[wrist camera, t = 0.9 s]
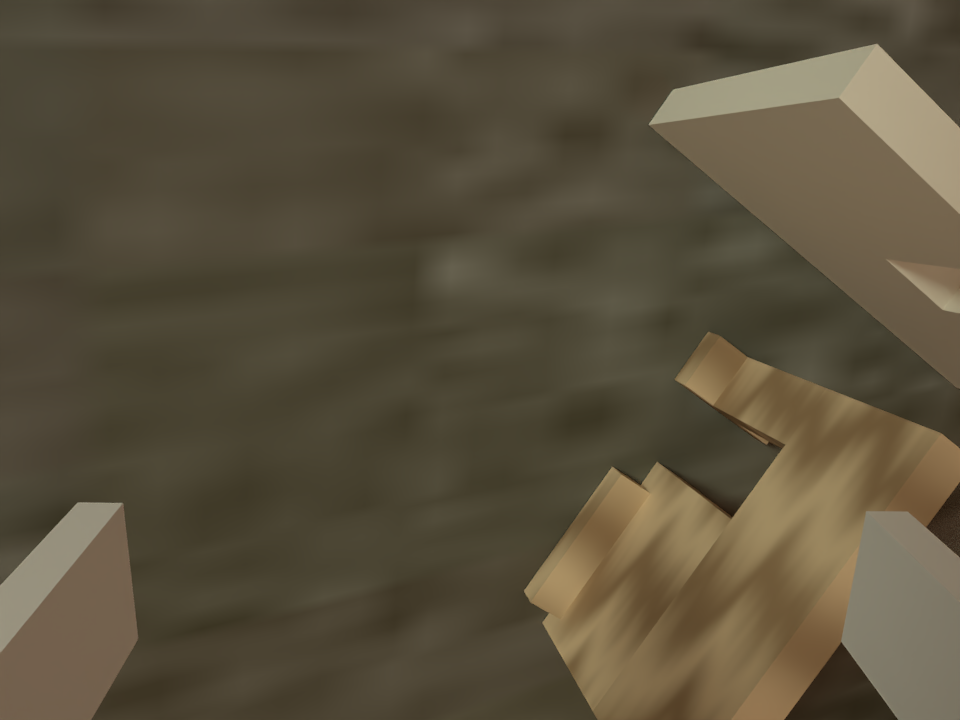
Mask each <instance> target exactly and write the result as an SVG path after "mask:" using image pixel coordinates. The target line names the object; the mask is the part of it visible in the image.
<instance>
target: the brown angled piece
mask: <svg viewBox="0 0 960 720" xmlns="http://www.w3.org/2000/svg"><path fill="white" fill-rule="evenodd" d="M674 380H676V381H677V382H678V383H680V384H681V385H682V386H684V387H685V388H686V389H688V390H689V391H691V392H692V393H693V394H695V395H696V396H697V397H699V398H700V399H702V400H703V401H704V402H706V403H707V404H708V405H710V406H711V407H712V408H714V409H715V410H717V411H718V412H719V413H721V414H722V415H723V416H725V417H726V418H728V419H729V420H730V421H732V422H733V423H734V424H736V425H737V426H739V427H740V428H741V429H743V430H744V431H745V432H747V433H748V434H749V435H751V436H752V437H754V438H755V439H757V440H759V441H761V442H762V443H764V444H766V445H767V444H768V442H771V443H773V444H775V445H776V446H778V447H780V448H782V450H781V451H780V453H779V454H778V456H777V457H776V458H775V460H774V461H773V462H772V464H771V465H770V467H769V468H768V469H767V471H766V472H765V474H764V475H763V476H762V478H761V479H760V480H759V482H758V483H757V485H756V486H755V487H754V489H753V490H752V492H751V493H750V494H749V496H748V497H747V498H746V500H745V501H744V503H743V504H742V505H741V507H740V508H739V510H738V511H737V512H736V514H735V515H734V516H733V517H731V516H730V515H729V514H728V513H726V512H725V511H724V510H722V509H721V508H720V507H718V506H717V505H716V504H715V503H713V502H712V501H711V500H709V499H708V498H707V497H705V496H704V495H703V494H701V493H700V492H699V491H698V490H696V489H695V488H694V487H692V486H691V485H690V484H688V483H687V482H686V481H684V480H683V479H682V478H680V477H679V476H677V475H676V474H674V473H673V472H671V471H670V470H668V469H667V468H665V467H664V466H662V465H661V464H660V463H658V462H657V463H656V464H655V466H654V467H653V468H652V470H651V471H650V473H649V474H648V475H647V477H646V478H645V480H644V481H643V482H642V484H641V485H640V484H638V483H637V482H635V481H634V480H632V479H631V478H629V477H628V476H626V475H625V474H623V473H622V472H620V471H619V470H617V469H616V468H614V467H613V466H612V468H611V469H610V471H609V472H608V473H607V475H606V476H605V478H604V479H603V480H602V482H601V483H600V485H599V486H598V487H597V489H596V490H595V492H594V493H593V494H592V496H591V497H590V499H589V500H588V501H587V503H586V504H585V506H584V507H583V509H582V510H581V511H580V513H579V514H578V516H577V517H576V518H575V520H574V521H573V523H572V524H571V525H570V527H569V528H568V530H567V531H566V532H565V534H564V535H563V537H562V538H561V539H560V541H559V542H558V544H557V545H556V546H555V548H554V549H553V551H552V552H551V554H550V555H549V556H548V558H547V559H546V561H545V562H544V563H543V565H542V566H541V568H540V569H539V570H538V572H537V573H536V575H535V576H534V577H533V579H532V580H531V582H530V583H529V584H528V586H527V587H526V589H525V590H524V592H525V593H526V595H527V597H528V599H529V600H530V602H531V603H533V604H534V605H536V606H538V607H540V608H541V609H543V610H545V611H547V612H549V614H548V615H547V617H546V618H545V620H544V621H543V622H542V623H543V625H544V626H545V628H546V630H547V632H548V634H549V635H550V637H551V639H552V641H553V642H554V644H555V646H556V648H557V649H558V651H559V653H560V655H561V656H562V658H563V660H564V662H565V663H566V665H567V667H568V669H569V670H570V672H571V674H572V676H573V677H574V679H575V681H576V683H577V684H578V686H579V688H580V690H581V691H582V693H583V695H584V697H585V698H586V700H587V702H588V704H589V705H590V707H591V709H592V711H593V712H594V714H595V716H596V718H597V719H598V720H784V719H785V718H786V716H787V715H788V714H789V712H790V711H791V710H792V708H793V707H794V706H795V704H796V703H797V702H798V700H799V699H800V698H801V696H802V695H803V693H804V692H805V691H806V689H807V688H808V687H809V685H810V684H811V683H812V681H813V680H814V679H815V677H816V676H817V675H818V673H819V672H820V670H821V669H822V668H823V666H824V665H825V664H826V662H827V661H828V660H829V658H830V657H831V656H832V654H833V653H834V651H835V650H836V649H837V647H838V646H839V645H840V643H841V639H842V634H843V629H844V624H845V619H846V613H847V608H848V603H849V598H850V593H851V588H852V582H853V577H854V572H855V567H856V562H857V557H858V551H859V546H860V541H861V536H862V531H863V525H864V520H865V515H866V511H902V512H909V513H910V514H911V515H912V516H913V517H915V518H916V519H917V520H918V521H919V522H920V523H921V524H922V525H924V526H925V527H927V526H928V524H929V523H930V521H931V520H932V519H933V517H934V516H935V515H936V513H937V512H938V511H939V509H940V508H941V507H942V505H943V504H944V502H945V501H946V500H947V498H948V497H949V496H950V494H951V493H952V492H953V490H954V489H955V488H956V486H957V485H958V484H959V482H960V448H959V447H957V446H956V445H955V444H954V443H952V442H951V441H950V440H949V439H948V438H946V437H945V436H944V435H943V434H941V433H939V432H936V431H934V430H931V429H929V428H926V427H924V426H921V425H919V424H916V423H913V422H911V421H908V420H906V419H903V418H901V417H898V416H896V415H893V414H891V413H888V412H886V411H883V410H880V409H878V408H875V407H873V406H870V405H868V404H865V403H863V402H860V401H858V400H855V399H852V398H850V397H847V396H845V395H842V394H840V393H837V392H835V391H832V390H830V389H827V388H824V387H822V386H819V385H817V384H814V383H812V382H809V381H807V380H804V379H802V378H799V377H796V376H794V375H791V374H789V373H786V372H784V371H781V370H779V369H776V368H774V367H771V366H768V365H766V364H763V363H761V362H758V361H756V360H753V359H751V358H748V357H747V356H745V355H744V354H743V353H741V352H740V351H739V350H738V349H736V348H735V347H734V346H732V345H731V344H730V343H728V342H727V341H726V340H725V339H723V338H722V337H721V336H719V335H716V334H713V333H711V332H708V333H707V334H706V335H705V337H704V338H703V340H702V341H701V343H700V344H699V345H698V347H697V348H696V350H695V351H694V352H693V354H692V355H691V357H690V358H689V359H688V361H687V362H686V364H685V365H684V366H683V368H682V369H681V371H680V372H679V373H678V375H677V376H676V378H675V379H674Z"/></svg>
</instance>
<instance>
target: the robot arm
mask: <svg viewBox="0 0 960 720" xmlns="http://www.w3.org/2000/svg"><path fill="white" fill-rule="evenodd" d="M137 640H138V632H137V623H136V614H135V606H134V597H133V588H132V579H131V570H130V561H129V552H128V543H127V534H126V525H125V516H124V507H123V503H77V504H76V505H75V506H74V507H73V508H72V509H71V510H70V511H69V513H68V514H67V515H66V516H65V517H64V518H63V519H62V520H61V521H60V522H59V523H58V524H57V525H56V526H55V528H54V529H53V530H52V531H51V532H50V533H49V534H48V535H47V536H46V537H45V538H44V539H43V540H42V541H41V543H40V544H39V545H38V546H37V547H36V548H35V549H34V550H33V551H32V552H31V553H30V554H29V555H28V556H27V558H26V559H25V560H24V561H23V562H22V563H21V564H20V565H19V566H18V567H17V568H16V569H15V570H14V571H13V573H12V574H11V575H10V576H9V577H8V578H7V579H6V580H5V581H4V582H3V583H2V584H1V585H0V720H91V719H92V717H93V716H94V714H95V712H96V711H97V709H98V707H99V705H100V704H101V702H102V700H103V699H104V697H105V695H106V693H107V692H108V690H109V688H110V686H111V685H112V683H113V681H114V680H115V678H116V676H117V674H118V673H119V671H120V669H121V668H122V666H123V664H124V662H125V661H126V659H127V657H128V656H129V654H130V652H131V650H132V649H133V647H134V645H135V644H136V642H137ZM841 642H842V643H843V645H844V646H845V647H846V649H847V650H848V652H849V653H850V654H851V656H852V657H853V658H854V660H855V661H856V663H857V664H858V665H859V667H860V668H861V669H862V671H863V672H864V674H865V675H866V676H867V678H868V679H869V680H870V682H871V683H872V684H873V686H874V687H875V689H876V690H877V691H878V693H879V694H880V695H881V697H882V698H883V700H884V701H885V702H886V704H887V705H888V706H889V708H890V709H891V711H892V712H893V713H894V715H895V716H896V717H897V719H898V720H960V557H958V556H957V555H956V554H955V553H954V552H953V551H952V550H951V549H949V548H948V547H947V546H946V545H945V544H944V543H943V542H942V541H940V540H939V539H938V538H937V537H936V536H935V535H934V534H933V533H931V532H930V531H929V530H928V529H927V528H926V527H925V526H924V525H922V524H921V523H920V522H919V521H918V520H917V519H916V518H915V517H913V516H912V515H911V514H910V513H909V512H902V511H866V515H865V520H864V525H863V531H862V536H861V541H860V546H859V551H858V557H857V562H856V567H855V572H854V577H853V582H852V588H851V593H850V598H849V603H848V608H847V613H846V619H845V624H844V629H843V634H842V639H841Z"/></svg>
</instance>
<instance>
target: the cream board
mask: <svg viewBox="0 0 960 720" xmlns="http://www.w3.org/2000/svg"><path fill="white" fill-rule="evenodd" d="M649 126H650V127H651V128H653V129H654V130H655V131H656V132H657V133H658V134H660V135H661V136H662V137H663V138H664V139H665V140H667V141H668V142H669V143H670V144H671V145H672V146H674V147H675V148H676V149H677V150H678V151H679V152H681V153H682V154H683V155H684V156H685V157H687V158H688V159H689V160H690V161H691V162H692V163H694V164H695V165H696V166H697V167H698V168H699V169H701V170H702V171H703V172H704V173H705V174H706V175H708V176H709V177H710V178H711V179H712V180H713V181H715V182H716V183H717V184H718V185H719V186H721V187H722V188H723V189H724V190H725V191H726V192H728V193H729V194H730V195H731V196H732V197H733V198H735V199H736V200H737V201H738V202H739V203H740V204H742V205H743V206H744V207H745V208H746V209H747V210H749V211H750V212H751V213H752V214H753V215H754V216H756V217H757V218H758V219H759V220H760V221H762V222H763V223H764V224H765V225H766V226H767V227H769V228H770V229H771V230H772V231H773V232H774V233H776V234H777V235H778V236H779V237H780V238H781V239H783V240H784V241H785V242H786V243H787V244H788V245H790V246H791V247H792V248H793V249H794V250H796V251H797V252H798V253H799V254H800V255H801V256H803V257H804V258H805V259H806V260H807V261H808V262H810V263H811V264H812V265H813V266H814V267H815V268H817V269H818V270H819V271H820V272H821V273H822V274H824V275H825V276H826V277H827V278H828V279H830V280H831V281H832V282H833V283H834V284H835V285H837V286H838V287H839V288H840V289H841V290H842V291H844V292H845V293H846V294H847V295H848V296H849V297H851V298H852V299H853V300H854V301H855V302H856V303H858V304H859V305H860V306H861V307H862V308H863V309H865V310H866V311H867V312H868V313H869V314H871V315H872V316H873V317H874V318H875V319H876V320H878V321H879V322H880V323H881V324H882V325H883V326H885V327H886V328H887V329H888V330H889V331H890V332H892V333H893V334H894V335H895V336H896V337H897V338H899V339H900V340H901V341H902V342H903V343H905V344H906V345H907V346H908V347H909V348H910V349H912V350H913V351H914V352H915V353H916V354H917V355H919V356H920V357H921V358H922V359H923V360H924V361H926V362H927V363H928V364H929V365H930V366H931V367H933V368H934V369H935V370H936V371H937V372H939V373H940V374H941V375H942V376H943V377H944V378H946V379H947V380H948V381H949V382H950V383H951V384H953V385H954V386H955V387H956V388H959V389H960V128H959V127H958V126H957V125H956V124H955V123H954V121H953V120H952V119H951V118H950V117H949V116H948V115H947V114H946V113H945V112H944V111H943V110H942V109H941V108H940V107H939V106H938V105H937V104H936V103H935V102H934V101H933V100H932V99H931V98H930V97H929V96H928V95H927V94H926V93H925V92H924V91H923V90H922V89H921V88H920V87H919V86H918V85H917V84H916V83H915V82H914V81H913V80H912V79H911V78H910V77H909V76H908V75H907V74H906V73H905V72H904V71H903V70H902V69H901V68H900V67H899V66H898V65H897V64H896V62H895V61H894V60H893V59H892V58H891V57H890V56H889V55H888V54H887V53H886V52H885V51H884V50H883V49H882V48H881V47H880V46H879V45H878V44H874V45H870V46H865V47H861V48H856V49H852V50H847V51H843V52H839V53H834V54H830V55H825V56H821V57H816V58H812V59H807V60H803V61H799V62H794V63H790V64H785V65H781V66H776V67H772V68H767V69H763V70H759V71H754V72H750V73H745V74H741V75H736V76H732V77H727V78H723V79H719V80H714V81H710V82H705V83H701V84H696V85H692V86H687V87H683V88H678V89H674V90H672V92H671V93H670V95H669V96H668V98H667V99H666V100H665V102H664V103H663V105H662V106H661V108H660V109H659V110H658V112H657V113H656V115H655V116H654V118H653V119H652V121H651V122H650V123H649Z"/></svg>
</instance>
